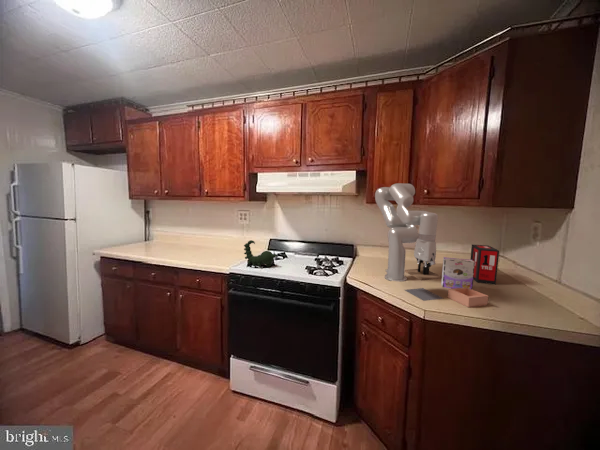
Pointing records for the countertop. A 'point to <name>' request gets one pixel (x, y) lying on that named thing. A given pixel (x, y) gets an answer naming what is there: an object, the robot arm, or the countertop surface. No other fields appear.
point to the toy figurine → (264, 258)
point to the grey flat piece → (423, 294)
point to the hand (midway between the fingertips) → (423, 272)
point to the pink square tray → (467, 297)
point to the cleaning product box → (485, 263)
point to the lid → (421, 276)
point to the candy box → (457, 273)
